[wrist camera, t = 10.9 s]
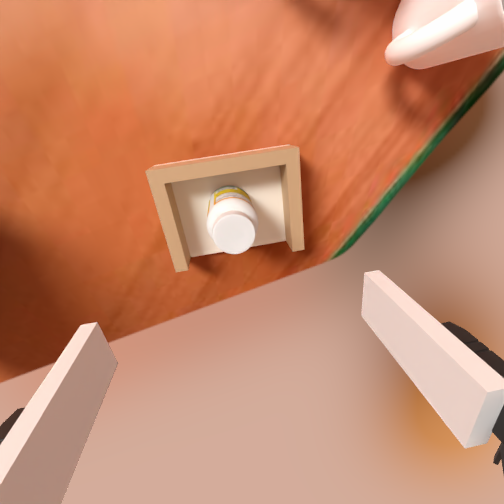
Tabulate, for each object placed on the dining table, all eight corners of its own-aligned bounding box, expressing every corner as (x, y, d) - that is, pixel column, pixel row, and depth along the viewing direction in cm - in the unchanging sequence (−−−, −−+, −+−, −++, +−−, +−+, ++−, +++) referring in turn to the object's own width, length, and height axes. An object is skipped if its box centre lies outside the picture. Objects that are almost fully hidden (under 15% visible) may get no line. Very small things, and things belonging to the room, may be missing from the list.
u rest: (180, 256, 36) (175, 272, 32) (154, 165, 31) (145, 171, 27) (294, 236, 37) (304, 249, 33) (288, 144, 32) (299, 147, 28)
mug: (345, 28, 27) (429, -35, 17) (454, -49, 26) (623, -174, 15) (372, 105, 31) (455, 94, 20) (469, 41, 29) (615, -8, 19)
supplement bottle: (225, 175, 31) (229, 193, 23) (259, 202, 33) (275, 228, 25) (199, 210, 33) (193, 240, 24) (233, 234, 35) (239, 270, 26)
